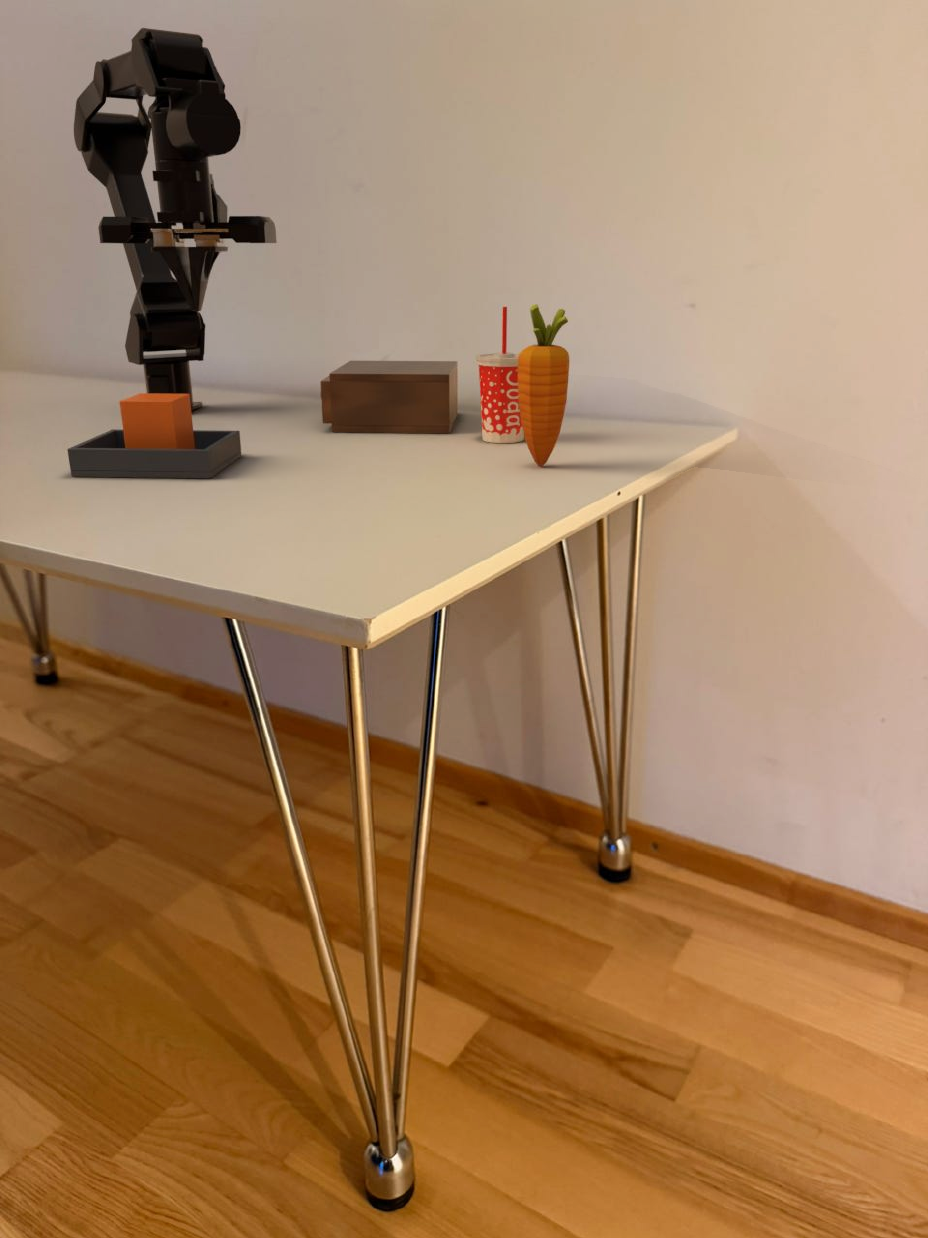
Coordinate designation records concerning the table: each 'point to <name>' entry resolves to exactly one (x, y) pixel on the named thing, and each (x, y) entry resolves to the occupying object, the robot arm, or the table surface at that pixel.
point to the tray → (154, 457)
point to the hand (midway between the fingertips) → (196, 310)
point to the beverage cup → (500, 394)
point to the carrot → (543, 387)
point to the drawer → (326, 400)
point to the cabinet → (394, 396)
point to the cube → (157, 421)
